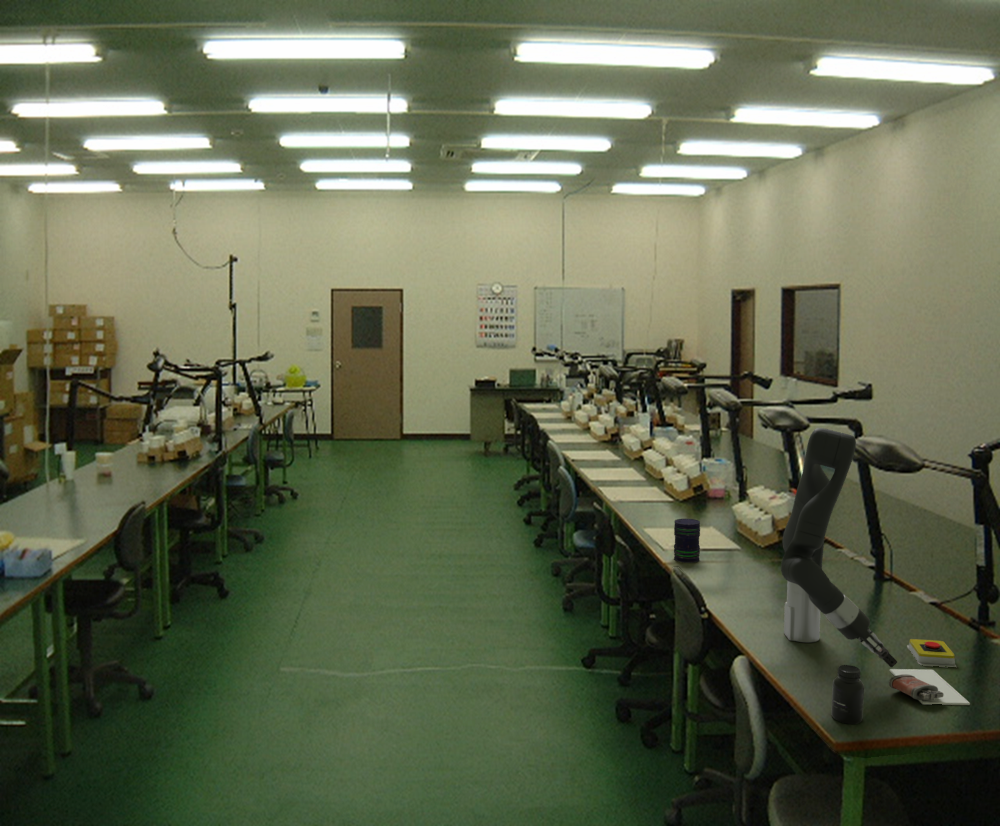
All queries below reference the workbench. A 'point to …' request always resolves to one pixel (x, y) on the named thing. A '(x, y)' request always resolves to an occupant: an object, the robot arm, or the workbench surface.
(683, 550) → the storage jar
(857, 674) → the supplement bottle
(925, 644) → the emergency button
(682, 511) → the workbench surface
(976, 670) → the workbench surface
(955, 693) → the mat
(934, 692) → the lighter
